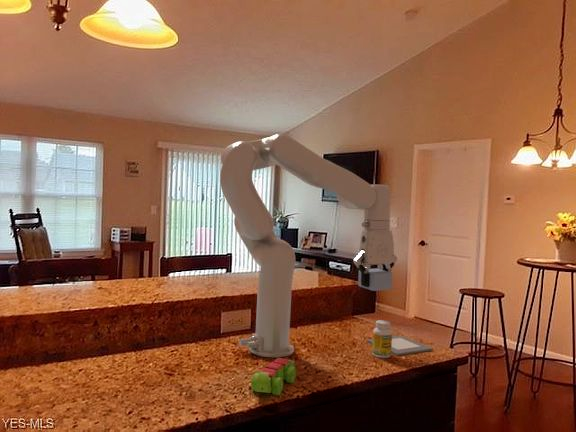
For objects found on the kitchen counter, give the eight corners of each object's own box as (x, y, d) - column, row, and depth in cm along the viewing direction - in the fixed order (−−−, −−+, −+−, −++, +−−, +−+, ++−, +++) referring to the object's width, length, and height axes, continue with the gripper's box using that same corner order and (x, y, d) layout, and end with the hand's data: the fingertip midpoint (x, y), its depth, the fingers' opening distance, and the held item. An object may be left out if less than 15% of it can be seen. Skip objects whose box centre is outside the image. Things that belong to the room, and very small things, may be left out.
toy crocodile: (277, 370, 122) (278, 346, 122) (302, 375, 119) (303, 350, 119) (242, 399, 104) (243, 371, 103) (270, 405, 101) (272, 377, 101)
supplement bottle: (381, 351, 141) (383, 318, 141) (395, 356, 137) (397, 323, 136) (367, 353, 138) (369, 320, 138) (381, 359, 134) (383, 325, 133)
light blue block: (373, 290, 140) (374, 273, 140) (358, 285, 147) (358, 269, 147) (391, 289, 143) (392, 272, 142) (375, 284, 150) (376, 268, 150)
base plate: (396, 355, 138) (397, 353, 138) (366, 341, 150) (366, 339, 150) (432, 350, 144) (432, 348, 144) (400, 337, 157) (400, 335, 156)
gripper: (361, 227, 136) (359, 290, 137) (407, 226, 145) (405, 285, 146) (345, 225, 143) (344, 285, 144) (390, 224, 151) (389, 280, 152)
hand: (375, 284), depth 145 cm, fingers closed on light blue block, 6 cm apart
